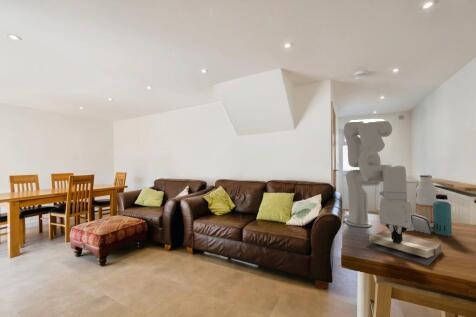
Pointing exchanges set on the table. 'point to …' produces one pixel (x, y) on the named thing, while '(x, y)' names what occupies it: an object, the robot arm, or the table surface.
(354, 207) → the robot arm
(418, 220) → the white toaster
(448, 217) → the beverage bottle
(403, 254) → the floor panel
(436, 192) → the fruit juice
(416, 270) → the table surface
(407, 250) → the birch plank
